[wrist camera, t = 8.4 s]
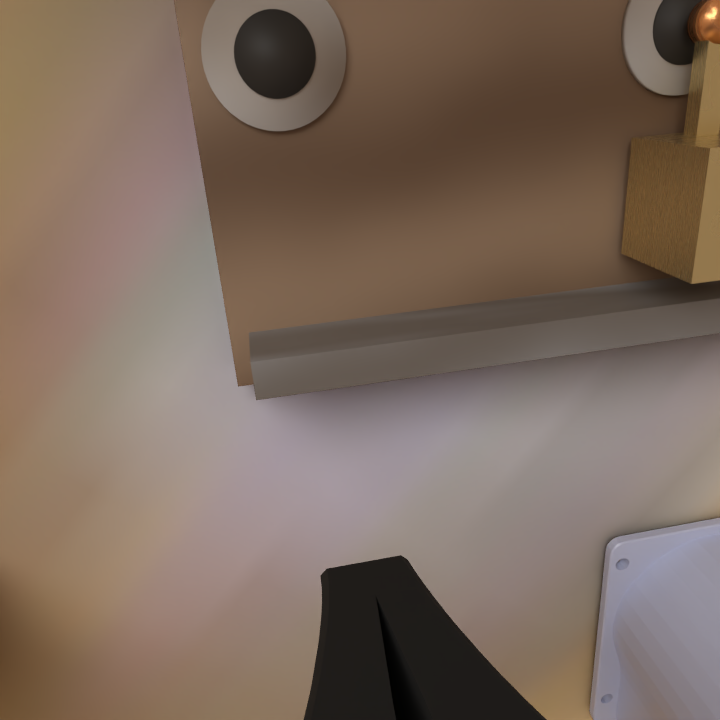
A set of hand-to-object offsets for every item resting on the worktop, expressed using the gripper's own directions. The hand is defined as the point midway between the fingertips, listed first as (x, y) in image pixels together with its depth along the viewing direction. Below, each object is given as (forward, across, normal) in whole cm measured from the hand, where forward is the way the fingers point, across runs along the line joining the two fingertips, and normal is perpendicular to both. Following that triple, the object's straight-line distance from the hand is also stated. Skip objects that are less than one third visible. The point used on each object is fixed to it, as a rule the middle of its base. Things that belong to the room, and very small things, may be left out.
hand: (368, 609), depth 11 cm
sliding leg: (+8, -10, -6) cm, 14 cm away
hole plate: (+9, -11, -6) cm, 16 cm away
